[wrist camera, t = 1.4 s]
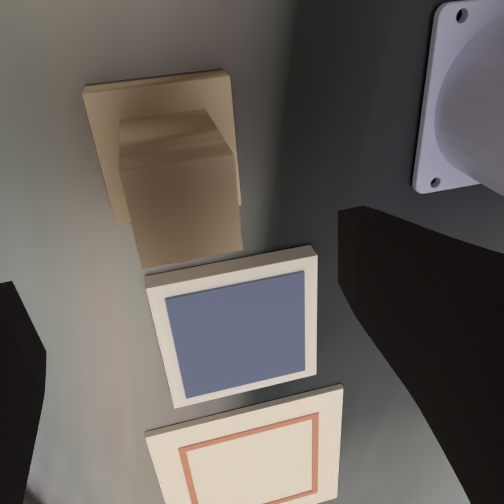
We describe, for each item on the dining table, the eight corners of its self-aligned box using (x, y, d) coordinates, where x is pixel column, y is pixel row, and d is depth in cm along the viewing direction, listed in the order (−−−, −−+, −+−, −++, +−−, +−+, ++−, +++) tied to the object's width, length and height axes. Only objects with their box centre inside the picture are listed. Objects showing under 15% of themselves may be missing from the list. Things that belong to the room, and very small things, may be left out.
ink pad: (310, 244, 22) (318, 256, 21) (310, 361, 26) (317, 376, 25) (145, 276, 21) (146, 290, 20) (172, 394, 25) (174, 410, 24)
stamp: (221, 68, 17) (268, 111, 12) (233, 189, 20) (276, 271, 14) (85, 84, 16) (66, 138, 11) (116, 208, 19) (114, 303, 14)
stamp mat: (340, 383, 28) (343, 389, 28) (334, 492, 34) (337, 498, 34) (145, 431, 26) (145, 439, 26) (177, 538, 32) (178, 545, 32)
